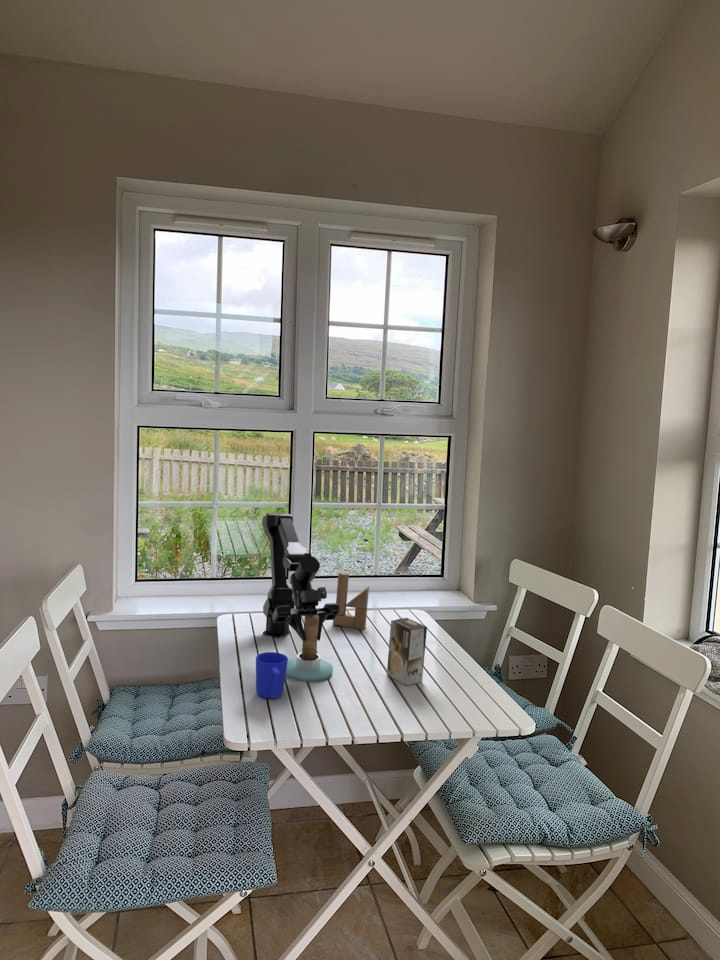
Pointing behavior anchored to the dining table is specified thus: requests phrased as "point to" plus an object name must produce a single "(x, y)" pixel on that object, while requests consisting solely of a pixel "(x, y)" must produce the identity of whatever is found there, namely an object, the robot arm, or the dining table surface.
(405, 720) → the dining table surface
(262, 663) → the mug
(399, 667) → the coffee box
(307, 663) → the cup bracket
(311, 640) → the dowel
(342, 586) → the wooden block
